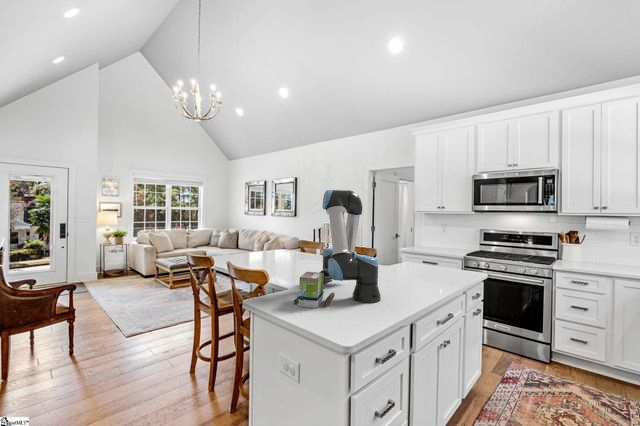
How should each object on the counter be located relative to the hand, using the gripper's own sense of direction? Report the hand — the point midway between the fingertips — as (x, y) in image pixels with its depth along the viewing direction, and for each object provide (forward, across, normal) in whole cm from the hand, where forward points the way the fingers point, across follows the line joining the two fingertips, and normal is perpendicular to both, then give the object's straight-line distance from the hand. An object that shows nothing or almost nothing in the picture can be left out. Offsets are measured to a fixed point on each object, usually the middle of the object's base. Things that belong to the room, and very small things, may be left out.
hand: (314, 285), depth 165 cm
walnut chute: (+2, -1, -7) cm, 8 cm away
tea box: (+8, 0, -8) cm, 11 cm away
